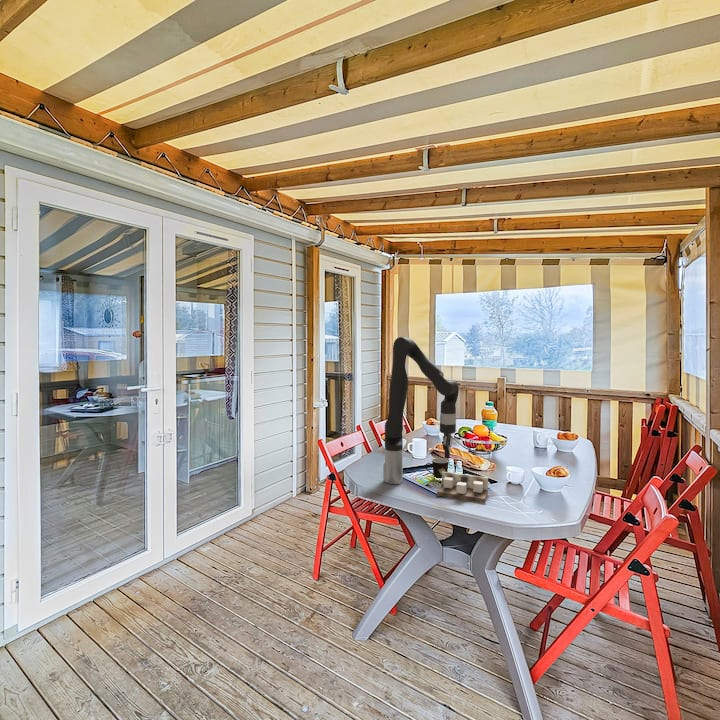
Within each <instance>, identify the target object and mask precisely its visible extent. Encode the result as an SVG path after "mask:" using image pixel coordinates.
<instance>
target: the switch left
mask: <svg viewBox="0 0 720 720" xmlns="http://www.w3.org/2000/svg"><path fill="white" fill-rule="evenodd" d="M453 479H454V478H451V477H445V478H444V488H451V489H452V487H453Z"/></svg>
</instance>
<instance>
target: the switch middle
mask: <svg viewBox="0 0 720 720" xmlns="http://www.w3.org/2000/svg"><path fill="white" fill-rule="evenodd" d="M466 490H467V483H464V482H458V483H457V488H456V493H461V494H465V493H466Z"/></svg>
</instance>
